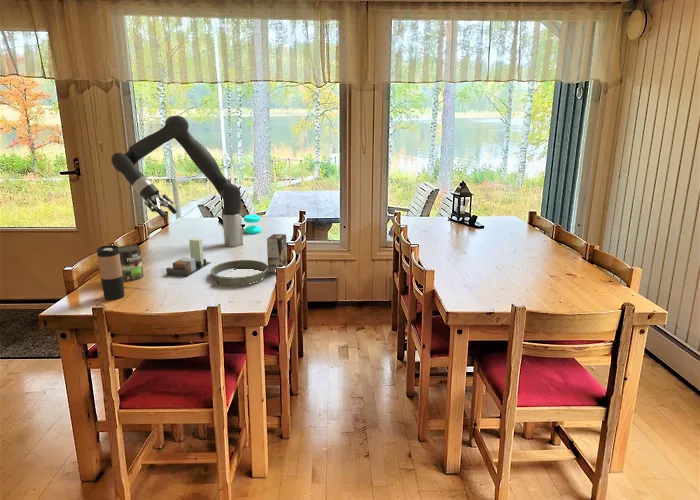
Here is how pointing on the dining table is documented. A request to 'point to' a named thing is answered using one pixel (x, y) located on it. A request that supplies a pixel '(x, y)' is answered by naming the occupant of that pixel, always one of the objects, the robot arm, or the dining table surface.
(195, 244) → the pale green block
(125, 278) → the coffee can
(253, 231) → the donuts
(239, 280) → the cake pan
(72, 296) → the dining table surface
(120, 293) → the travel mug
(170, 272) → the rack
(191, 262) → the offcut
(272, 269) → the coffee box
